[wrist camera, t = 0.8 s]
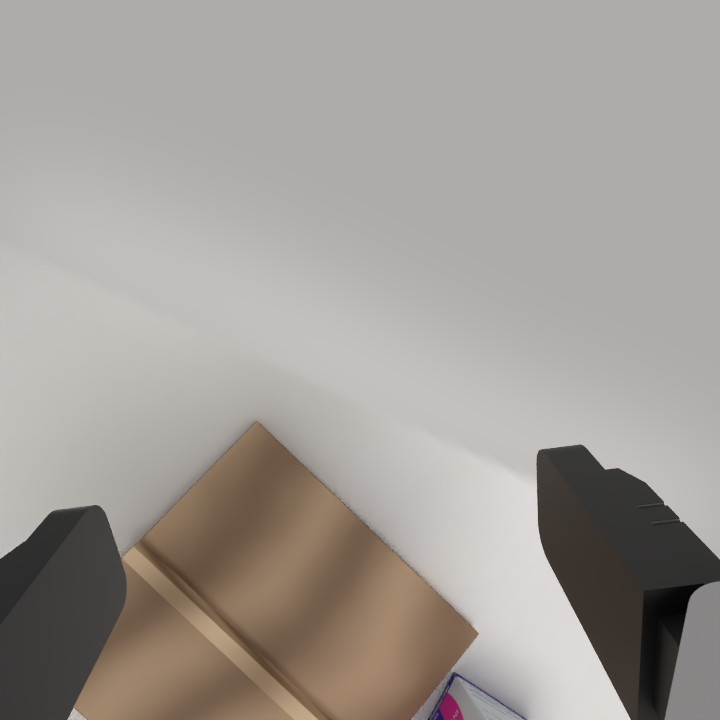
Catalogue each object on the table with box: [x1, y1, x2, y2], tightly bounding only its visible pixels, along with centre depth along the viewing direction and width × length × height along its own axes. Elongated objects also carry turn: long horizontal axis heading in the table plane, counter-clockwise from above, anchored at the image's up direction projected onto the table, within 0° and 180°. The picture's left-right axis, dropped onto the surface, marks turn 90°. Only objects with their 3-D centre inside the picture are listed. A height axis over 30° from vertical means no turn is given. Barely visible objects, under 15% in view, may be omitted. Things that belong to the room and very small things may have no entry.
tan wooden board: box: [74, 421, 479, 720], centre depth 30 cm, size 18×17×3 cm
